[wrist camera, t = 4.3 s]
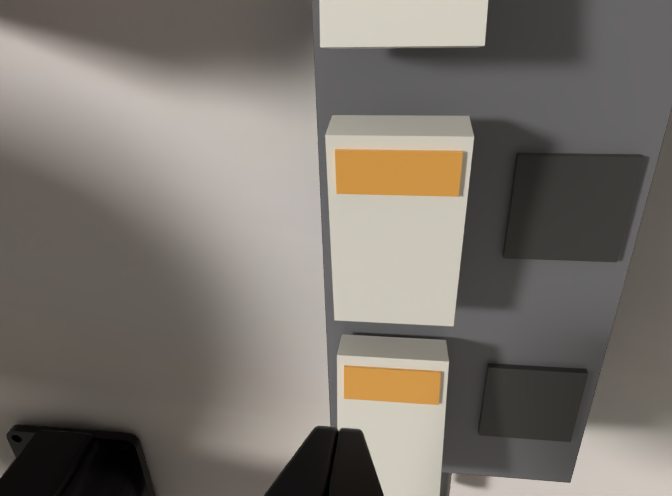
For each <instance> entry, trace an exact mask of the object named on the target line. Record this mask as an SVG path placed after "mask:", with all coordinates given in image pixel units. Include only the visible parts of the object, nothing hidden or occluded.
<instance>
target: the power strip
mask: <svg viewBox="0 0 672 496" xmlns="http://www.w3.org/2000/svg"><path fill="white" fill-rule="evenodd" d="M312 17H313V40H314V63H315V85H316V108H317V130H318V153H319V176H320V198H321V221H322V243H323V266H324V289H325V311H326V334H327V356H328V379H329V402H330V424H331V427H336V428H337V353H338V348H339V344H340V340H341V336H342V334H344V335H363V336H381V337H400V338H419V339H438V340H446V344H447V351H448V358H449V369H448V383H447V397H446V411H445V426H444V440H443V454H442V469H441V483H440V496H449V493H450V484H451V475H452V473H458V474H470V475H482V476H494V477H506V478H519V479H531V480H543V481H555V482H567V483H570V482H571V478H572V474H573V471H574V467H575V463H576V460H577V456H578V452H579V449H580V445H581V441H582V437H583V434H584V430H585V426H586V423H587V419H588V415H589V412H590V408H591V404H592V400H593V397H594V393H595V389H596V386H597V382H598V378H599V375H600V371H601V367H602V364H603V360H604V356H605V352H606V349H607V345H608V341H609V338H610V334H611V330H612V327H613V323H614V319H615V315H616V312H617V308H618V304H619V301H620V297H621V293H622V290H623V286H624V282H625V278H626V275H627V271H628V267H629V264H630V260H631V256H632V253H633V249H634V245H635V241H636V238H637V234H638V230H639V227H640V223H641V219H642V216H643V212H644V208H645V205H646V201H647V197H648V193H649V190H650V186H651V182H652V179H653V175H654V171H655V168H656V164H657V160H658V156H659V153H660V149H661V145H662V142H663V138H664V134H665V131H666V127H667V123H668V119H669V116H670V112H671V108H672V0H488V10H487V23H486V36H485V46H481V47H477V48H372V49H327V48H321V47H320V9H319V0H312ZM332 115H416V116H469V118H470V122H471V126H472V130H473V134H474V143H473V152H472V161H471V171H470V180H469V189H468V198H467V207H466V216H465V226H464V235H463V244H462V253H461V262H460V272H459V281H458V290H457V299H456V308H455V317H454V326H436V325H416V324H396V323H376V322H356V321H337V320H334V303H333V283H332V263H331V242H330V222H329V202H328V182H327V162H326V142H325V134H326V131H327V129H328V126H329V123H330V120H331V117H332Z"/></svg>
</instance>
